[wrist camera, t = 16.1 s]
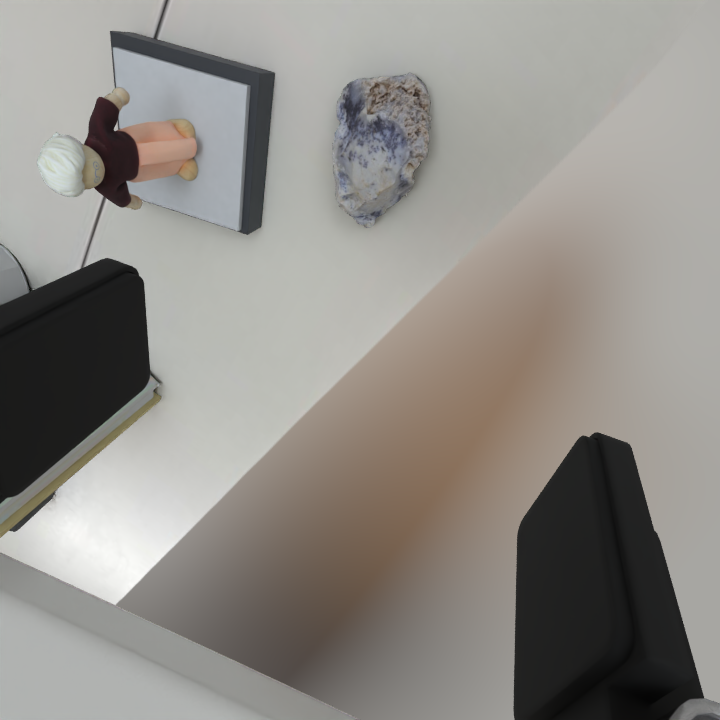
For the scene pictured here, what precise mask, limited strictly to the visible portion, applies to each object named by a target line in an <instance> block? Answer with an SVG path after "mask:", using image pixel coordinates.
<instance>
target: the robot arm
mask: <svg viewBox="0 0 720 720" xmlns="http://www.w3.org/2000/svg"><path fill="white" fill-rule="evenodd" d="M149 379H150V364H149V349H148V335H147V320H146V306H145V291H144V282H143V279H142V278H141V277H140V276H139V273H138V271H137V270H136V269H135V268H134V267H132V266H129V265H127V264H124V263H121V262H118V261H115V260H113V259H108V258H105V259H102V260H99V261H97V262H95V263H93V264H91V265H88V266H86V267H84V268H82V269H80V270H77V271H75V272H73V273H71V274H69V275H66V276H64V277H62V278H60V279H58V280H55V281H53V282H51V283H49V284H47V285H44V286H42V287H40V288H38V289H36V290H33V291H31V292H29V293H27V294H25V295H22V296H20V297H18V298H16V299H14V300H11V301H9V302H7V303H5V304H3V305H0V504H1V503H2V502H3V501H4V500H5V499H7V498H10V497H15V496H17V495H19V494H20V493H21V492H23V491H24V490H25V489H26V488H28V487H29V486H30V485H31V484H32V483H33V482H35V481H36V480H37V479H38V478H39V477H41V476H42V475H43V474H44V473H45V472H47V471H48V470H49V469H50V468H51V467H52V466H54V465H55V464H56V463H57V462H58V461H60V460H61V459H62V458H63V457H64V456H66V455H67V454H68V453H69V452H70V451H71V450H73V449H74V448H75V447H76V446H77V445H79V444H80V443H81V442H82V441H83V440H85V439H86V438H87V437H88V436H89V435H90V434H92V433H93V432H94V431H95V430H96V429H98V428H99V427H100V426H101V425H102V424H103V423H105V422H106V421H107V420H108V419H109V418H111V417H112V416H113V415H114V414H115V413H117V412H118V411H119V410H120V409H121V408H122V407H124V406H125V405H126V404H127V403H128V402H130V401H131V400H132V399H133V398H134V397H136V396H137V395H138V394H139V393H140V392H141V391H143V390H144V389H145V387H146V386H147V384H148V382H149ZM516 574H517V575H516V620H515V622H516V623H515V666H514V668H515V669H514V718H515V720H720V703H717V702H714V701H711V700H708V699H705V698H704V696H703V692H702V688H701V685H700V682H699V678H698V674H697V671H696V667H695V663H694V660H693V656H692V653H691V649H690V646H689V642H688V639H687V635H686V632H685V628H684V624H683V621H682V617H681V614H680V610H679V606H678V603H677V599H676V596H675V592H674V588H673V585H672V581H671V578H670V574H669V571H668V567H667V563H666V560H665V557H664V553H663V549H662V546H661V542H660V540H659V537H658V535H657V533H656V532H655V531H654V528H653V524H652V521H651V517H650V514H649V510H648V506H647V502H646V499H645V495H644V491H643V488H642V484H641V481H640V477H639V473H638V469H637V466H636V462H635V459H634V455H633V451H632V448H631V446H630V445H629V444H628V443H626V442H623V441H621V440H618V439H615V438H612V437H610V436H607V435H604V434H601V433H594V434H592V435H591V436H590V437H587V436H581V437H580V438H579V439H578V440H577V441H576V443H575V444H574V446H573V447H572V449H571V450H570V452H569V453H568V454H567V456H566V457H565V459H564V460H563V462H562V463H561V464H560V466H559V467H558V469H557V470H556V472H555V473H554V475H553V476H552V478H551V479H550V480H549V482H548V483H547V485H546V486H545V487H544V489H543V491H542V492H541V493H540V495H539V496H538V498H537V499H536V500H535V502H534V503H533V505H532V506H531V508H530V509H529V511H528V512H527V514H526V515H525V516H524V518H523V520H522V521H521V524H520V526H519V530H518V535H517V572H516ZM0 720H360V719H358V718H356V717H353V716H351V715H349V714H347V713H345V712H343V711H341V710H339V709H336V708H334V707H332V706H330V705H328V704H326V703H324V702H322V701H319V700H317V699H315V698H313V697H311V696H309V695H307V694H304V693H302V692H300V691H298V690H296V689H294V688H292V687H289V686H287V685H285V684H283V683H281V682H279V681H277V680H275V679H272V678H270V677H268V676H266V675H264V674H262V673H260V672H257V671H255V670H253V669H251V668H249V667H247V666H245V665H243V664H241V663H238V662H236V661H234V660H232V659H230V658H228V657H226V656H223V655H221V654H219V653H217V652H214V651H213V650H210V649H208V648H206V647H204V646H202V645H199V644H197V643H195V642H193V641H191V640H189V639H187V638H185V637H182V636H180V635H178V634H176V633H174V632H172V631H169V630H167V629H165V628H163V627H161V626H159V625H157V624H154V623H152V622H150V621H148V620H146V619H144V618H141V617H139V616H137V615H135V614H133V613H130V612H128V611H126V610H124V609H122V608H120V607H118V606H115V605H113V604H111V603H109V602H107V601H105V600H102V599H100V598H98V597H96V596H94V595H92V594H89V593H87V592H85V591H83V590H81V589H79V588H76V587H74V586H72V585H70V584H68V583H66V582H64V581H61V580H59V579H57V578H55V577H53V576H51V575H48V574H46V573H44V572H42V571H40V570H37V569H35V568H33V567H31V566H29V565H26V564H24V563H22V562H20V561H18V560H16V559H13V558H11V557H9V556H7V555H5V554H2V553H0Z"/></svg>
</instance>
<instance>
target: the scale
mask: <svg viewBox="0 0 720 720" xmlns="http://www.w3.org/2000/svg"><path fill="white" fill-rule="evenodd" d="M110 35H111V47H112V59H113V71H114V83H115V88H117V87H121V88H124V89H125V90H126V91H127V92H128V93H129V95H130V101H129V103H128V104H127V105H125V106H123V107H122V109H121V111H120V112H119V116H118V130H120V129H122V128H125V127H128V126H132V125H135V124H140V123H145V122H159V121H166V120H169V119H186V120H188V121H189V122H190V123H191V124H192V125H193V127H194V129H195V135H196V143H197V151H196V155H195V156H194V157H193V159H194V160H195V162H196V164H197V167H198V173H197V177H196V178H195V179H194V180H192V181H187V180H184V179H183V178H181V177H180V176H179V175H177V174H176V175H172V176H168V177H164V178H158V179H153V180H148V181H143V182H137V183H133V182H130V181H126V182H127V185H128V190H129V193H130V194H132V195H136V196H138V197H139V198H140V199H141V200H143V201H146V202H149V203H152V204H155V205H158V206H161V207H165V208H168V209H171V210H174V211H177V212H180V213H183V214H186V215H189V216H192V217H195V218H198V219H201V220H204V221H207V222H210V223H213V224H216V225H219V226H222V227H225V228H229V229H232V230H235V231H238V232H241V233H244V234H247V235H248V234H250V233H252V232H253V231H255V230H256V229H258V228H260V227H261V220H262V209H263V197H264V186H265V175H266V164H267V153H268V142H269V130H270V119H271V108H272V97H273V86H274V75H275V73H274V72H270V71H267V70H263V69H259V68H256V67H252V66H249V65H245V64H242V63H238V62H235V61H231V60H228V59H224V58H221V57H217V56H214V55H210V54H206V53H203V52H199V51H196V50H192V49H189V48H185V47H182V46H178V45H175V44H171V43H168V42H164V41H160V40H157V39H153V38H150V37H146V36H143V35H139V34H136V33H130V32H119V31H110Z"/></svg>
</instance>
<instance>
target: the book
mask: <svg viewBox="0 0 720 720" xmlns="http://www.w3.org/2000/svg"><path fill="white" fill-rule="evenodd" d="M27 293H29V288H28V284H27V281H26V278H25V275H24V273H23V271H22V269H21V266H20V265H19V263H18V262H17V260H16V258H15V257H14V256H13V255H12V254H11V252H10V251H9V250H8V249H6V248H5V247H4V246H3V245H1V244H0V305H3V304H5V303H7V302H9V301H11V300H14V299H16V298H18V297H20V296H22V295H25V294H27ZM159 386H160V384H159V383H158V382H157V381H156V379H155V378H154V377H153V376H152V375H151V374H150V379H149V382H148V384H147V386H146V387H145V389H144V390H143V391H141V392H140V393H139V394H138V395H137V396H136V397H134V398H133V399H132V400H131V401H130V402H128V403H127V404H126V405H125V406H124V407H122V408H121V409H120V410H119V411H118V412H117V413H115V414H114V415H113V416H112V417H111V418H109V419H108V420H107V421H106V422H105V423H103V424H102V425H101V426H100V427H99V428H98V429H96V430H95V431H94V432H93V433H92V434H90V435H89V436H88V437H87V438H86V439H85V440H83V441H82V442H81V443H80V444H79V445H77V446H76V447H75V448H74V449H73V450H71V451H70V452H69V453H68V454H67V455H66V456H64V457H63V458H62V459H61V460H60V461H58V462H57V463H56V464H55V465H54V466H52V467H51V468H50V469H49V470H48V471H47V472H45V473H44V474H43V475H42V476H41V477H39V478H38V479H37V480H36V481H35V482H33V483H32V484H31V485H30V486H29V487H28V488H26V489H25V490H24V491H23V492H21V493H20V494H19V495H17V496H15V497H10V498H7V499H5V500H4V501H3V502H2V503H1V504H0V538H1V537H2V536H3V535H4V534H5V533H6V532H8V531H9V530H10V529H11V528H12V527H13V526H15V525H16V524H17V523H18V522H19V521H20V520H22V519H23V518H24V517H25V516H26V515H27V514H29V513H30V512H31V511H32V510H33V509H34V508H36V507H37V506H38V505H39V504H40V503H41V502H42V501H44V500H45V499H46V498H47V497H48V496H49V495H51V494H52V493H53V492H54V491H55V490H56V489H58V488H59V487H60V486H61V485H62V484H63V483H65V482H66V481H67V480H68V479H69V478H70V477H72V476H73V475H74V474H75V473H76V472H77V471H79V470H80V469H81V468H82V467H83V466H84V465H85V464H87V463H88V462H89V461H90V460H91V459H92V458H94V457H95V456H96V455H97V454H98V453H99V452H101V451H102V450H103V449H104V448H105V447H106V446H108V445H109V444H110V443H111V442H112V441H113V440H115V439H116V438H117V437H118V436H119V435H120V434H122V433H123V432H124V431H125V430H126V429H127V428H129V427H130V426H131V425H132V424H133V423H134V422H135V421H137V420H138V419H139V418H140V417H141V416H142V415H144V414H145V413H146V412H147V411H148V410H149V409H151V408H152V407H153V406H154V405H155V404H156V403H158V402H159V401H160V399H161V396H159V395H158V394H156V393H155V392H153V391H154V389H155V388H156V387H159Z"/></svg>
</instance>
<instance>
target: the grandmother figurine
mask: <svg viewBox="0 0 720 720" xmlns="http://www.w3.org/2000/svg"><path fill="white" fill-rule="evenodd" d="M129 101H130V95H129V93H128V92H127V91H126V90H125V89H124V88H121V87H117V88H115V89H114V90H113V92H112V94H108V95H107V96H105V97H104V98H103V97H99V98H98V99H97V101H96V104H95V108H94V110H93V113H92V115H91V117H90V121H89V133H88V137H87V139H86V141H85V143H84V145H83V144H81V142H80V141H78V140H77V139H75V138H73V137H71V136H69V135H60V134H58V132H56V133H55V134H54V135H53V137H52V138H51V139H49V140H48V141H46V142H45V144H44V146H43V147H42V149H41V152H40V156H39V158H38V160H37V165H38V168H39V170H40V173H41V175H42V178H43V181H44V182H45V183H46V184H47V186H48V187H50V188H51V189H52V190H54V191H55V192H57V193H59V194H61V195H63V196H67V197H77V196H79V195H80V194H82V193H83V191H84V190H85V189H91V188H95V189H96V190H97V191H98V192H99V193H101V194H102V195H103V196H104V197H106V198H107V199H108V200H110V201H111V202H113V203H114V204H116V205H117V206H119V207H127V208H131V209H134V210H136V209H139V208H141V206H142V200H141V199H140V198H139V197H138V196H136V195H132V194H130V193H129V190H128V185H127V182H126V181H130V182H133V183H137V182H143V181H148V180H153V179H158V178H164V177H168V176H172V175H176V174H177V175H179V176H180V177H181V178H183V179H184V180H187V181H192V180H194V179H195V178H196V177H197V173H198V167H197V164H196V162H195V160H194V159H193V157H194V156H195V155H196V151H197V143H196V135H195V129H194V127H193V125H192V124H191V123H190V122H189V121H188V120H186V119H169V120H166V121H159V122H145V123H140V124H135V125H132V126H128V127H125V128H122V129H120V130H117V131H114V127H115V125H116V123H117V120H118V116H119V112H120V111H121V109H122V107H123V106H125V105H127V104H128V103H129Z"/></svg>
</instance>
